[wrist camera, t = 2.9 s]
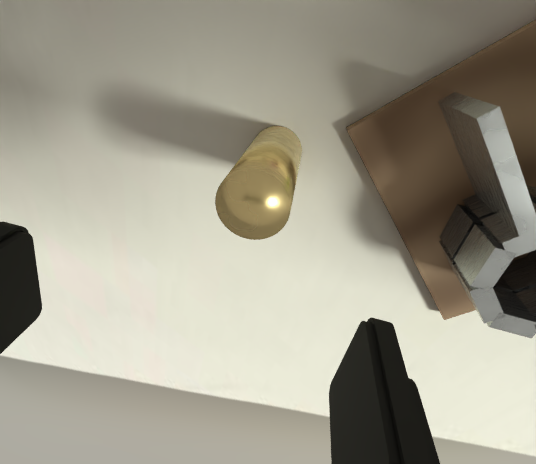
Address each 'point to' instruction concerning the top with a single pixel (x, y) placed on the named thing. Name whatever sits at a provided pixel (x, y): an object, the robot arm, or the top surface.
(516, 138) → the hinge base
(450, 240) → the hinge
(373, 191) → the top surface
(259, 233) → the hinge pin
